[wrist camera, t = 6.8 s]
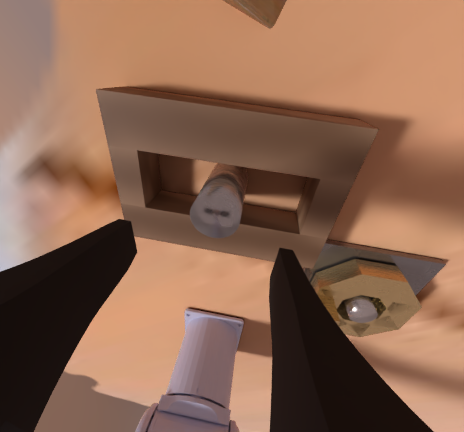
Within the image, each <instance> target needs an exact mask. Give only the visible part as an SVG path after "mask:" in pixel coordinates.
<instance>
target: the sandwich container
mask: <svg viewBox="0 0 464 432" xmlns="http://www.w3.org/2000/svg"><path fill="white" fill-rule="evenodd" d="M223 1H225V2H226V3H228V4H230V5H231V6H233V7H235V8H236V9H238V10H240V11H241V12H243V13H245V14H246V15H248V16H249V17H251V18H253V19H254V20H256V21H258V22H259V23H261V24H263V25H264V26H266V27H268V28H269V29H270V28H272V27H273V26H274V24H275V23H276V21H277V19H278V17H279V15H280V13H281V10H282V8H283V6H284V4H285V2H286V0H223Z"/></svg>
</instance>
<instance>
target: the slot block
mask: <svg viewBox="0 0 464 432" xmlns="http://www.w3.org/2000/svg"><path fill="white" fill-rule="evenodd" d="M96 93H97V97H98V102H99V107H100V111H101V116H102V120H103V125H104V129H105V134H106V138H107V143H108V147H109V152H110V157H111V161H112V166H113V170H114V175H115V179H116V184H117V188H118V193H119V198H120V202H121V207H122V211H123V216H124V220H127V221H131V223H132V228H133V233H134V236H135V237H141V238H146V239H152V240H157V241H163V242H168V243H174V244H179V245H185V246H190V247H196V248H201V249H207V250H212V251H218V252H223V253H229V254H234V255H240V256H245V257H251V258H256V259H262V260H267V261H273V262H275V260H276V257H277V254H278V251H279V248H285V249H290V250H293V251H294V253H295V255H296V257H297V259H298V261H299V263H300V265H301V267H306V268H311V269H313V267H314V265H315V263H316V261H317V259H318V257H319V255H320V253H321V250H322V248H323V246H324V244H325V242H326V240H327V238H328V236H329V234H330V231H331V229H332V227H333V225H334V223H335V221H336V219H337V217H338V215H339V213H340V210H341V208H342V206H343V204H344V202H345V200H346V198H347V196H348V194H349V191H350V189H351V187H352V185H353V183H354V181H355V179H356V177H357V175H358V172H359V170H360V168H361V166H362V164H363V162H364V160H365V158H366V156H367V153H368V151H369V149H370V147H371V145H372V143H373V141H374V139H375V137H376V134H377V132H378V130H379V129H377V128H375V127H373V126H371V125H369V124H367V123H365V122H363V121H361V120H359V119H352V118H345V117H338V116H331V115H324V114H317V113H310V112H302V111H295V110H288V109H281V108H274V107H267V106H260V105H252V104H245V103H238V102H231V101H224V100H217V99H210V98H203V97H195V96H188V95H181V94H174V93H167V92H160V91H153V90H146V89H138V88H131V87H114V88H103V89H96ZM158 154H164V155H171V156H177V157H183V158H190V159H196V160H202V161H209V162H215V163H222V164H228V165H234V166H241V167H247V168H253V169H260V170H266V171H272V172H279V173H285V174H291V175H298V176H304V177H307V180H306V183H305V186H304V189H303V192H302V195H301V198H300V201H299V204H298V207H297V210H296V213H294V212H288V211H282V210H276V209H270V208H264V207H258V206H252V205H247V204H243V209H242V214H241V219H240V224H239V227H238V229H237V230H236V231H235V232H234V233H233V234H232V235H230V236H228V237H224V238H212V237H209V236H206V235H204V234H202V233H201V232H199V231H198V230H197V229H196V228H195V227H194V225H193V224H192V222H191V219H190V209H191V207H192V205H193V203H194V201H195V200H196V198H197V196H193V195H187V194H181V193H175V192H169V191H163V190H161V181H160V170H159V159H158Z"/></svg>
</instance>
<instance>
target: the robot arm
mask: <svg viewBox="0 0 464 432" xmlns="http://www.w3.org/2000/svg"><path fill="white" fill-rule="evenodd" d="M136 253H137V249H136V243H135V238H134V233H133V228H132V223H131V221H127V220H122V219H118V220H116V221H114V222H112V223H109V224H107V225H105V226H103V227H101V228H99V229H97V230H95V231H93V232H91V233H89V234H87V235H85V236H83V237H81V238H79V239H77V240H75V241H73V242H71V243H69V244H67V245H64V246H62V247H60V248H58V249H56V250H53V251H51V252H49V253H47V254H45V255H42V256H40V257H38V258H35V259H33V260H30V261H28V262H25V263H23V264H20V265H17V266H15V267H12V268H10V269H7V270H4V271H1V272H0V432H34V430H35V427H36V425H37V423H38V421H39V419H40V417H41V414H42V413H43V410H44V408H45V406H46V404H47V402H48V400H49V398H50V396H51V394H52V391H53V390H54V388H55V386H56V384H57V382H58V380H59V378H60V376H61V374H62V373H63V371H64V369H65V367H66V365H67V363H68V361H69V359H70V358H71V356H72V354H73V352H74V350H75V349H76V347H77V345H78V343H79V341H80V340H81V338H82V336H83V335H84V333H85V331H86V330H87V328H88V326H89V324H90V323H91V321H92V320H93V318H94V317H95V315H96V314H97V312H98V311H99V309H100V308H101V306H102V305H103V304H104V302H105V301H106V300H107V298H108V297H109V295H110V294H111V293H112V291H113V290H114V289H115V287H116V286H117V284H118V283H119V282H120V280H121V279H122V277H123V276H124V275H125V273H126V272H127V270H128V268H129V267H130V265H131V263H132V261H133V259H134V257H135V255H136ZM269 303H270V319H271V335H272V393H271V418H270V432H433V431H432V430H431V429H430V428H429V427H428V426H427V425H426V424H425V423H424V422H423V421H422V420H421V419H420V418H419V417H418V416H417V415H416V414H415V413H414V412H413V411H412V410H411V409H410V408H409V407H408V406H407V405H406V404H405V403H404V402H403V401H402V399H401V398H400V397H399V396H398V395H397V394H396V393H395V392H394V391H393V390H392V389H391V388H390V387H389V386H388V385H387V384H386V382H385V381H384V380H383V379H382V378H381V377H380V376H379V375H378V374H377V372H376V371H375V370H374V369H373V368H372V367H371V365H370V364H369V363H368V362H367V361H366V360H365V358H364V357H363V356H362V355H361V354H360V353H359V352H358V350H357V349H356V348H355V347H354V345H353V344H352V343H351V342H350V340H349V339H348V338H347V337H346V335H345V334H344V333H343V331H342V330H341V329H340V327H339V326H338V325H337V323H336V322H335V320H334V319H333V318H332V316H331V315H330V313H329V312H328V310H327V309H326V307H325V306H324V304H323V303H322V301H321V299H320V298H319V296H318V295H317V293H316V291H315V290H314V288H313V286H312V285H311V283H310V281H309V279H308V278H307V276H306V274H305V272H304V270H303V268H302V267H301V265H300V263H299V261H298V259H297V257H296V255H295V253H294V251H293V250H290V249H285V248H279V251H278V254H277V257H276V260H275V263H274V267H273V270H272V273H271V276H270V291H269ZM243 325H244V321H243V320H242V319H239V318H234V317H229V316H224V315H219V314H214V313H209V312H204V311H199V310H194V309H189V308H187V309H186V310H185V336H184V339H183V342H182V345H181V348H180V351H179V354H178V357H177V360H176V364H175V367H174V370H173V373H172V376H171V379H170V382H169V385H168V388H167V391H166V395H161V398H160V401H159V404H158V403H154V404H152V405H151V407H149V408H148V409H147V410H146V411H145V413H144V414H143V416H142V418H141V420H140V422H139V424H138V426H137V429H136V431H135V432H239V429H238V427H237V425H236V422H235V421H232V420H230V411H231V410H229V403H230V395H231V387H232V378H233V370H234V362H235V354H236V352H237V348H238V344H239V340H240V336H241V332H242V328H243ZM229 420H230V422H229Z"/></svg>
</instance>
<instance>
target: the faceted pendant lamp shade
mask: <svg viewBox="0 0 464 432" xmlns="http://www.w3.org/2000/svg"><path fill="white" fill-rule="evenodd" d="M311 285H312V286H313V288H314V290H315V291H316V293H317V295H318V296H319V298H320V299H321V301H322V303H323V304H324V306H325V307H326V309H327V310H328V312H329V313H330V315H331V316H332V318H333V319H334V320H335V322H336V323H337V325H338V326H339V327H340V329H341V330H342V331H343V333H344V334H346V335H351V336H356V337H363V336H368V335H373V334H378V333H383V332H387V331H392V330H397V329H400V328H401V327H402V326H403V325H404V324H405V323H406V322H407V321H408V320H409V319H410V318H411V317H412V316H413V315H414V314H415V313H417V312H418V311H419V310H420V309H421V308H422V307H421V305H420V303H419V301H418V299H417V297H416V296H415V294H414V292H413V290H412V288H411V287H410V285H409V283H408V281H407V280H406V278H405V277H404V275H403V274H402V272H401V271H400V269H399V268H398V266H393V265H387V264H381V263H376V262H370V261H365V260H359V259H353V260H350V261H347V262H345V263H342V264H339V265H336V266H334V267H331V268H328V269H325V270H323V271H320V272H317V273H315V275H314V278H313V280H312V282H311ZM359 295H364V296H369V297H374V298H373V300H372V302H373V304H374V307H375V309H376V311H377V313H378V316H377V318H376V319H374V320H373V321H370V322H366V323H358V322H354V321H352V320H351V319H350V318H349V316H348V313H347V310H346V307H345V305H344V304H341V302H342V301H343V300H345V299H349V298H352V297H356V296H359Z"/></svg>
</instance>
